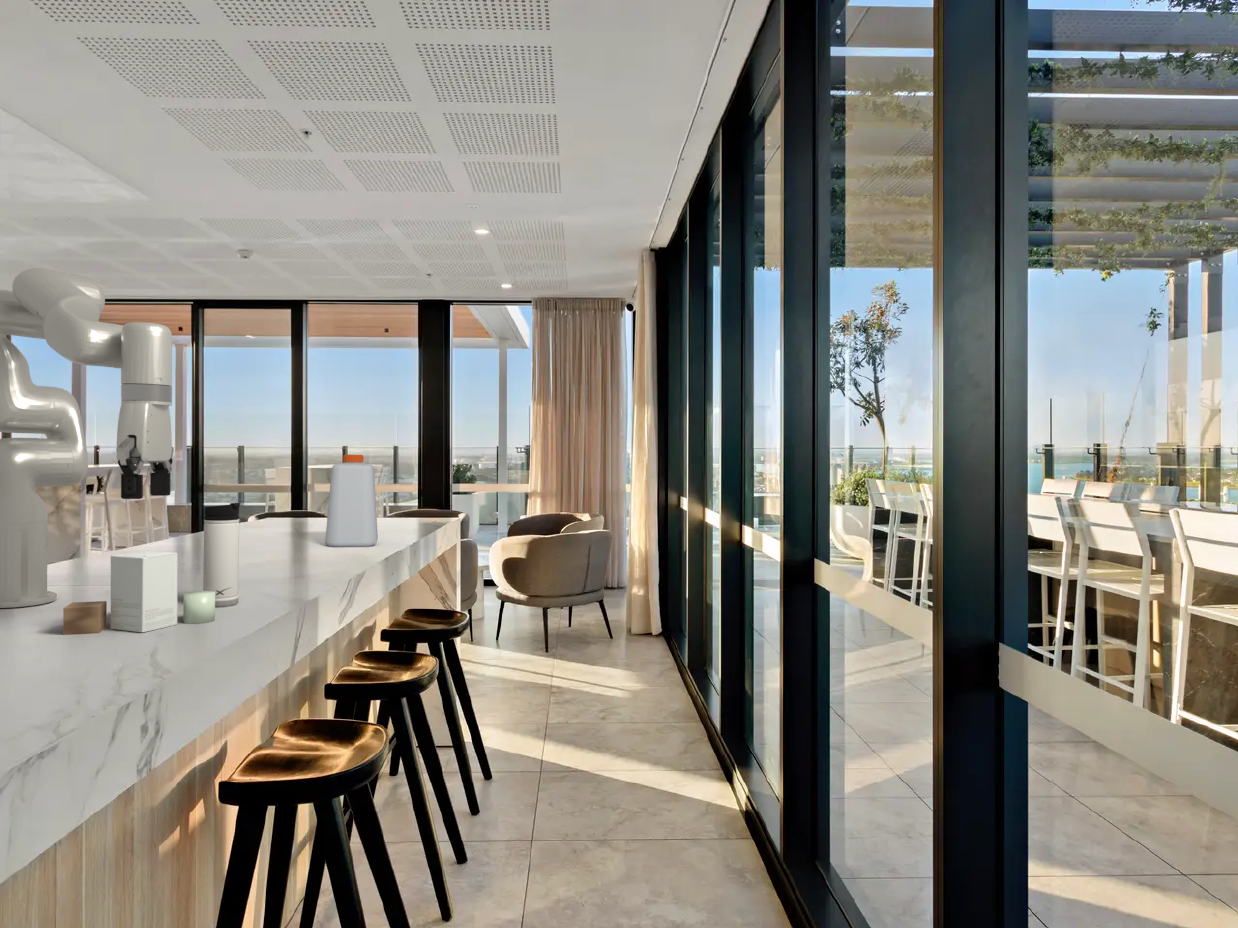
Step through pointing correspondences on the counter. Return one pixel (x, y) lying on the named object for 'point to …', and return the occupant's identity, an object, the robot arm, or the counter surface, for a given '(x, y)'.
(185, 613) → the sage plastic cylinder
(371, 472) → the plastic bottle
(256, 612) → the counter surface
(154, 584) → the supplement box
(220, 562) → the travel mug
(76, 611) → the walnut block
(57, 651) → the counter surface
